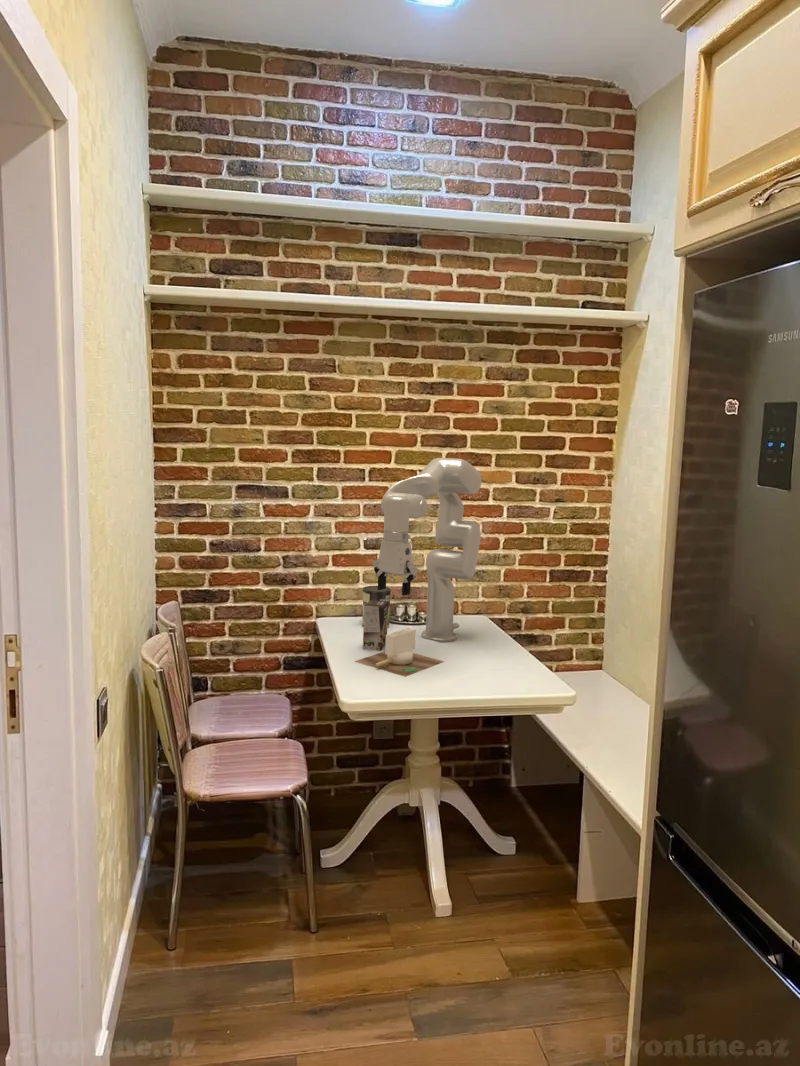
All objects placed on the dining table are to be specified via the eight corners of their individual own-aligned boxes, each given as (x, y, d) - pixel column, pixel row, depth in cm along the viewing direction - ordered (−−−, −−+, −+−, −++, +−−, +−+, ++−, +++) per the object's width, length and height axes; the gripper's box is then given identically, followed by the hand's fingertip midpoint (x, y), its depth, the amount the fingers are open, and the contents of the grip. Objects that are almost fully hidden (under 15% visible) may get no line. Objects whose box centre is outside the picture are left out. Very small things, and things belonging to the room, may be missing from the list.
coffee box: (381, 655, 244) (383, 606, 242) (362, 653, 246) (363, 605, 243) (387, 647, 253) (389, 600, 251) (368, 645, 254) (370, 599, 252)
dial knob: (400, 653, 241) (401, 626, 239) (420, 659, 236) (422, 631, 234) (366, 665, 228) (367, 636, 227) (387, 671, 223) (388, 642, 222)
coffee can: (394, 625, 282) (396, 588, 280) (379, 630, 273) (380, 592, 271) (372, 620, 287) (373, 584, 285) (356, 625, 279) (357, 588, 277)
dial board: (394, 652, 248) (394, 647, 248) (444, 666, 236) (444, 660, 236) (354, 666, 233) (354, 660, 232) (405, 681, 220) (405, 676, 220)
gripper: (426, 539, 225) (423, 595, 228) (382, 532, 236) (380, 585, 239) (410, 541, 220) (407, 598, 222) (366, 534, 231) (364, 589, 233)
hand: (393, 592), depth 230 cm, fingers open, 9 cm apart
